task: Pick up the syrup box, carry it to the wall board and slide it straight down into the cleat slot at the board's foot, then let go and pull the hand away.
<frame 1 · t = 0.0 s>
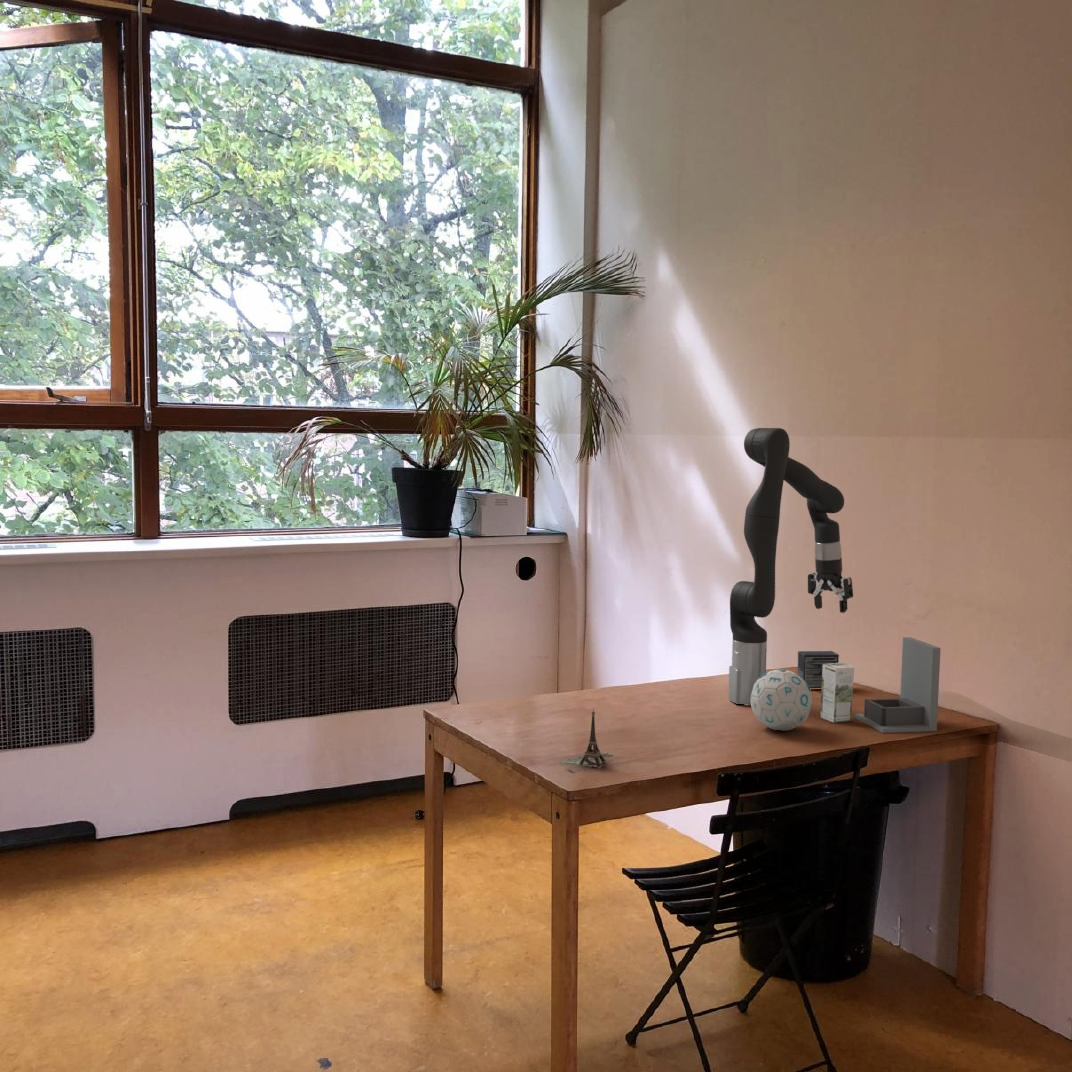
hand: (831, 610, 320), 22 cm above the table, tool pointing down, fingers open, 8 cm apart
small box: (817, 688, 319), on the table
syrup box: (835, 720, 282), on the table
eiffel tower figurine: (591, 766, 242), on the table
wall holder: (890, 724, 278), on the table
puzzle ball: (780, 730, 272), on the table
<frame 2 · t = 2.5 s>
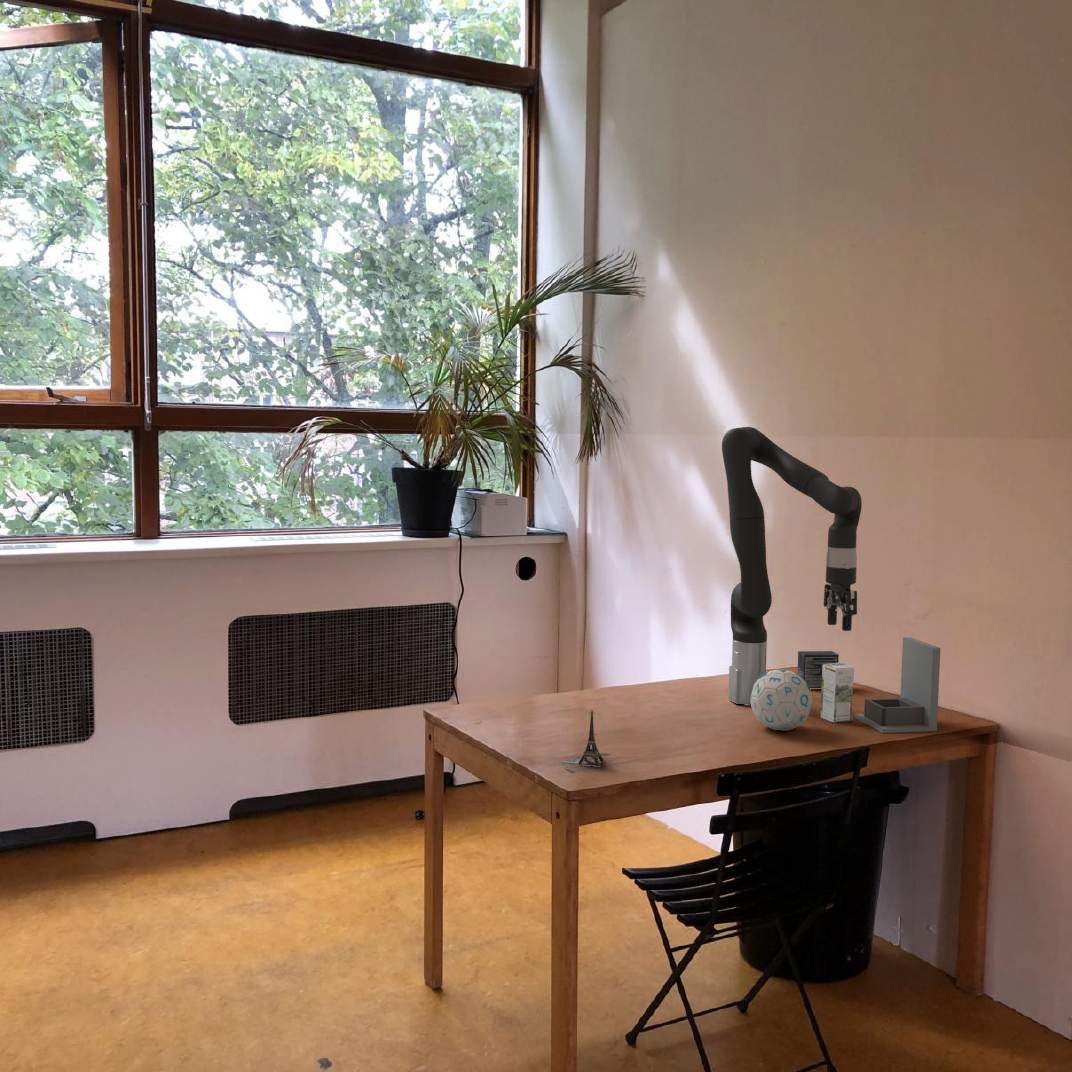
hand: (839, 627, 280), 24 cm above the table, tool pointing down, fingers open, 8 cm apart
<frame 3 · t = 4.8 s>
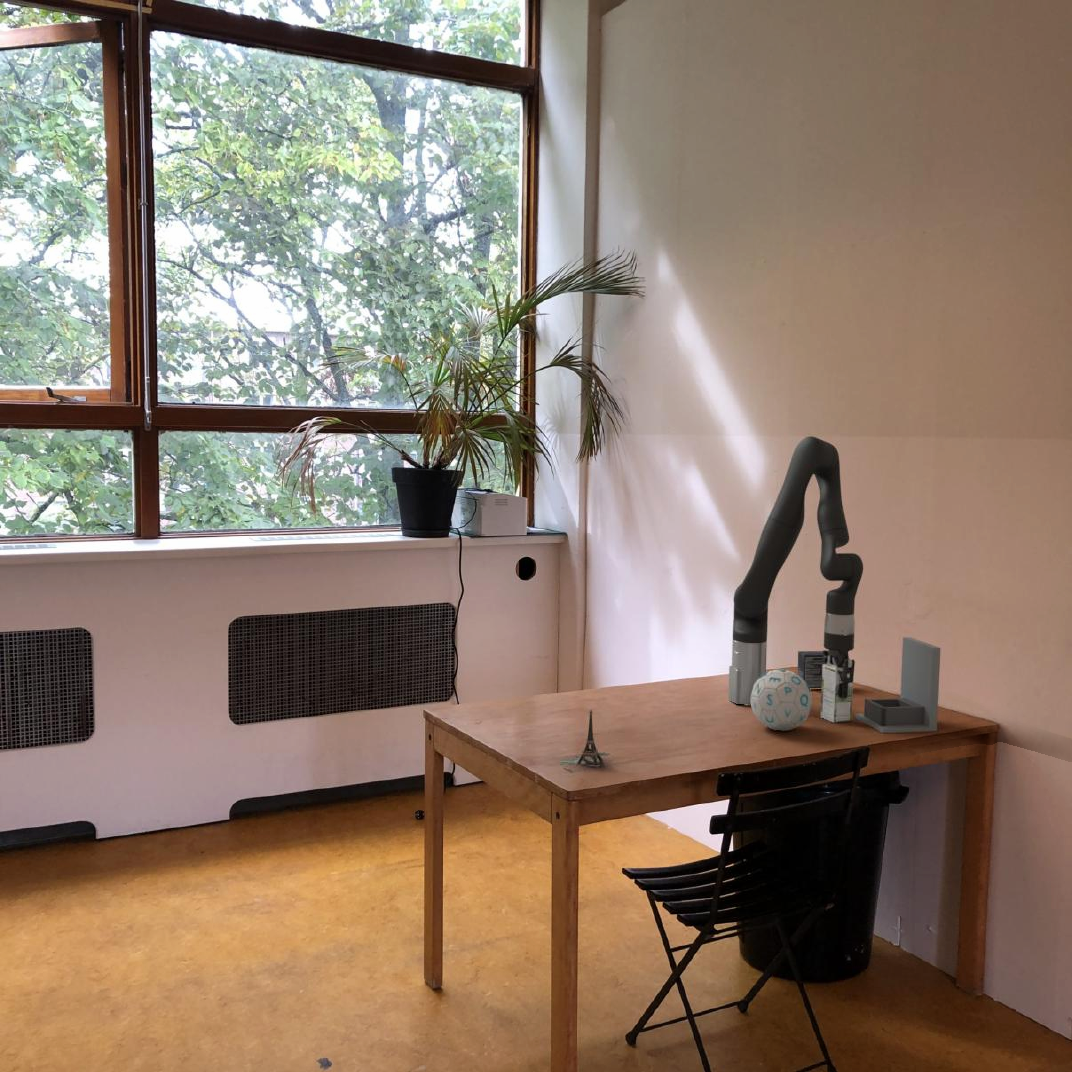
hand: (836, 694, 282), 7 cm above the table, tool pointing down, fingers closed on syrup box, 6 cm apart
syrup box: (835, 720, 282), on the table, touching gripper
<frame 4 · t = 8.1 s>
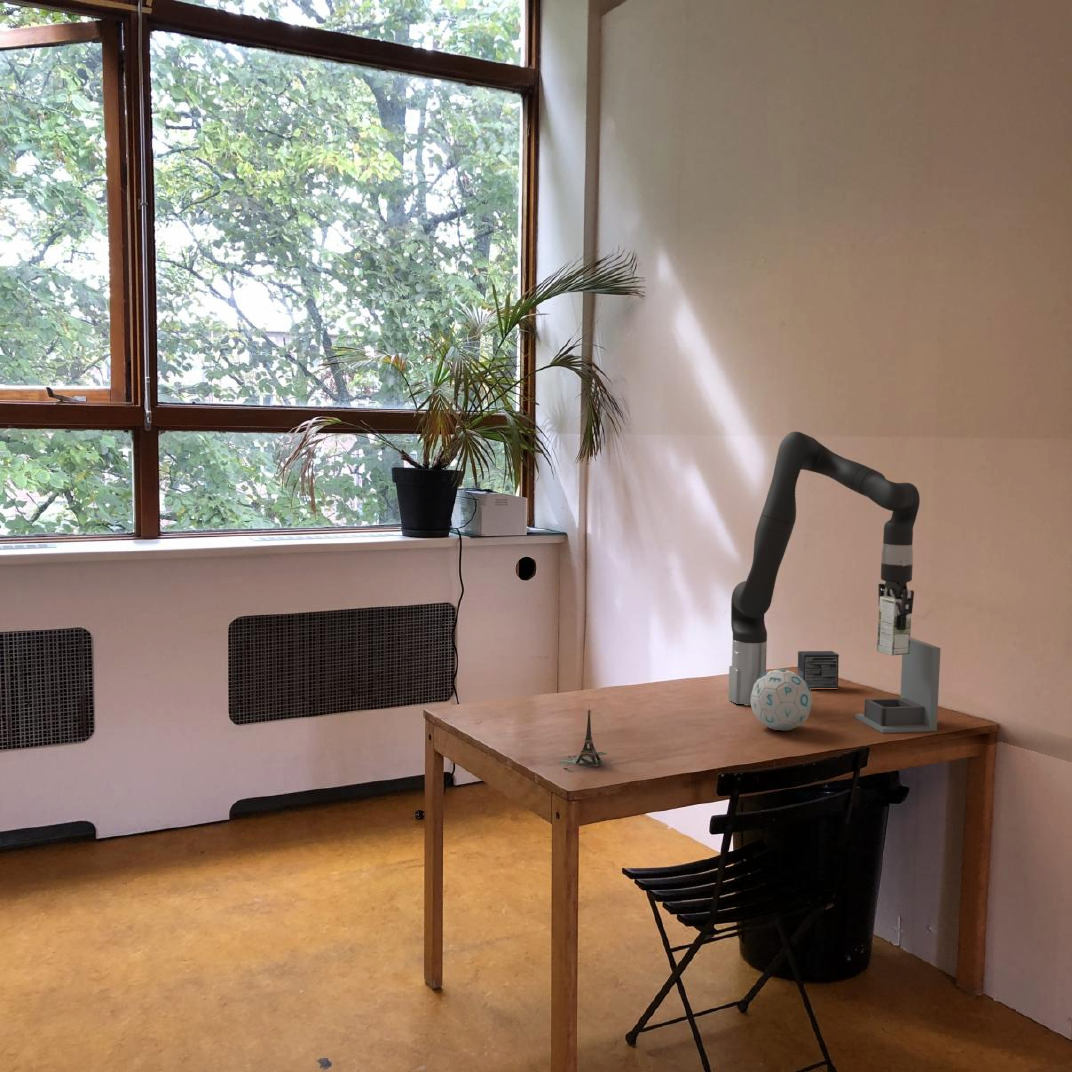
hand: (894, 627, 276), 25 cm above the table, tool pointing down, fingers closed on syrup box, 6 cm apart
syrup box: (893, 654, 277), point 18 cm above the table, touching gripper
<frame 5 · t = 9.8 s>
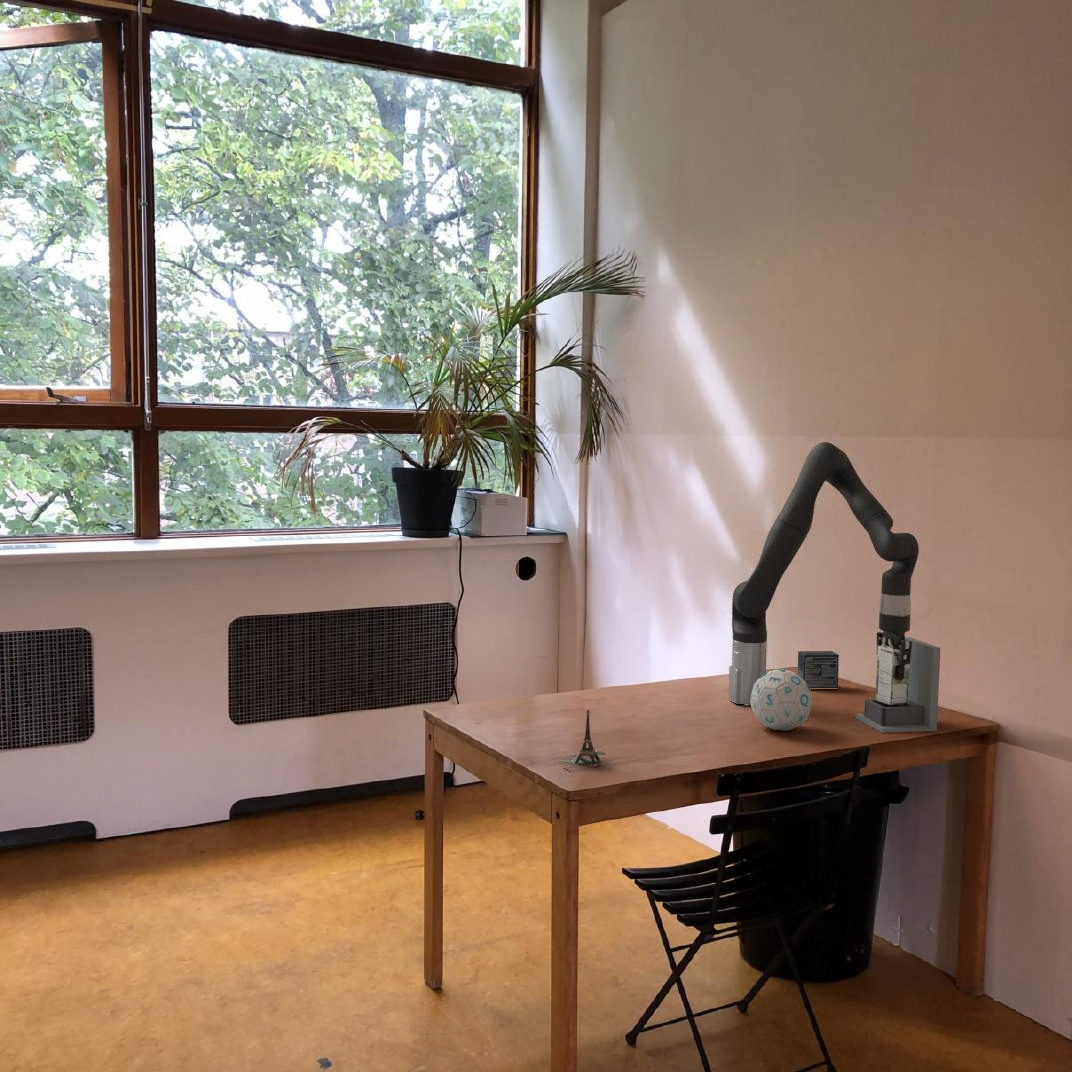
hand: (892, 676, 277), 12 cm above the table, tool pointing down, fingers closed on syrup box, 6 cm apart
syrup box: (891, 703, 278), point 5 cm above the table, touching gripper
when the fingers open (9 cm above the table, at t = 11.4 s): syrup box drops 1 cm, resting on wall holder.
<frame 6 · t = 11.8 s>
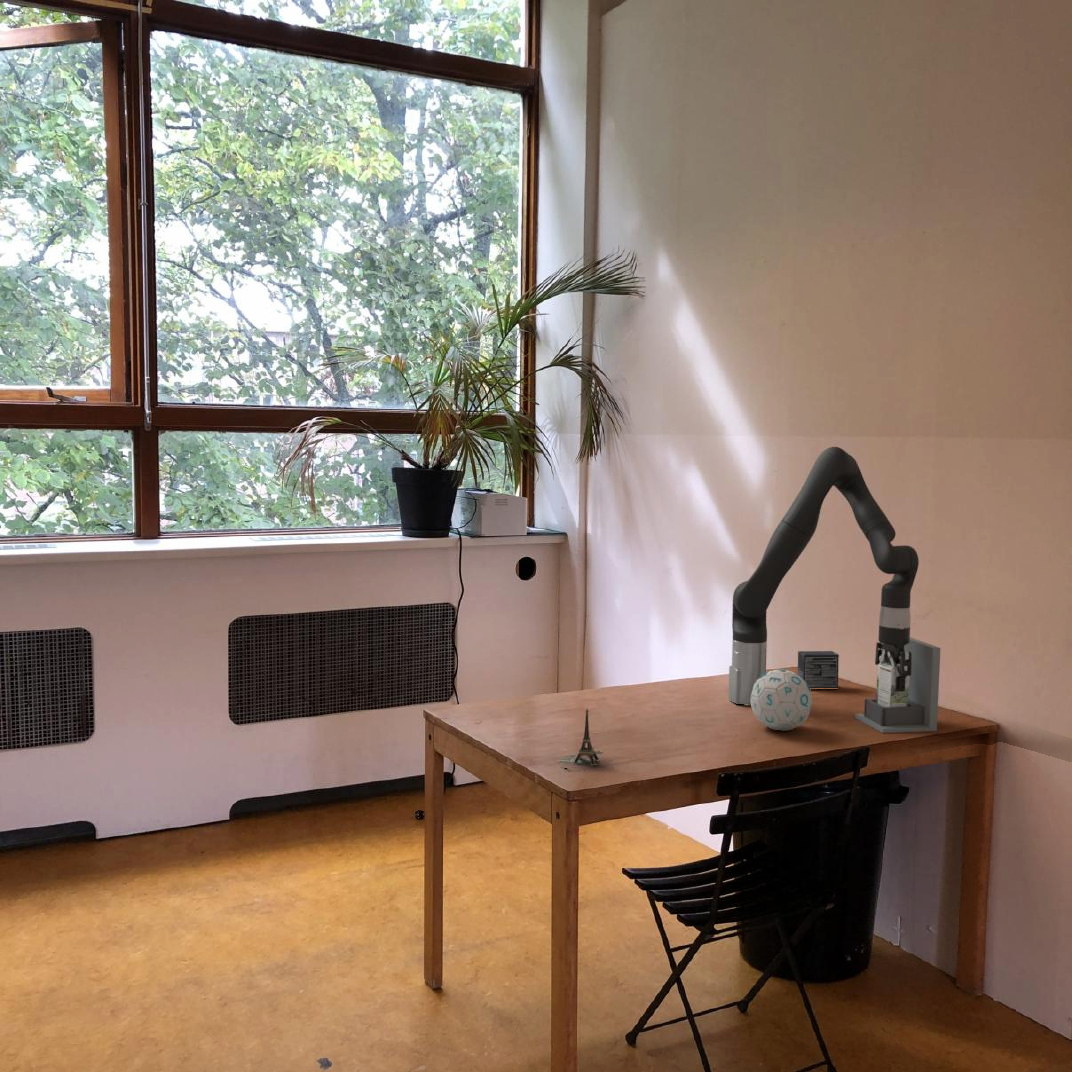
hand: (891, 687, 277), 10 cm above the table, tool pointing down, fingers open, 8 cm apart
syrup box: (891, 721, 278), point 1 cm above the table, touching wall holder
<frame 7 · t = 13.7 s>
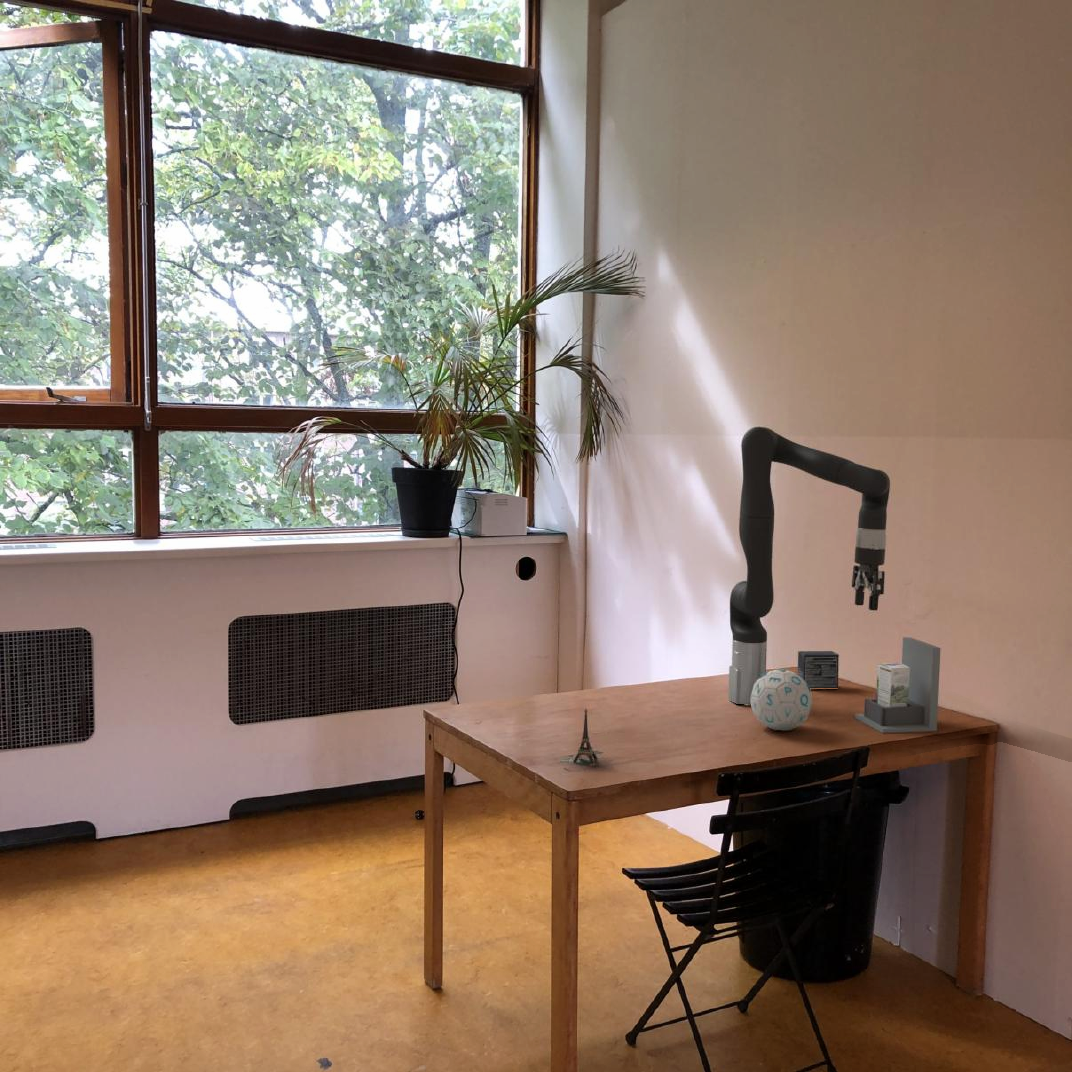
hand: (865, 607, 286), 28 cm above the table, tool pointing down, fingers open, 8 cm apart
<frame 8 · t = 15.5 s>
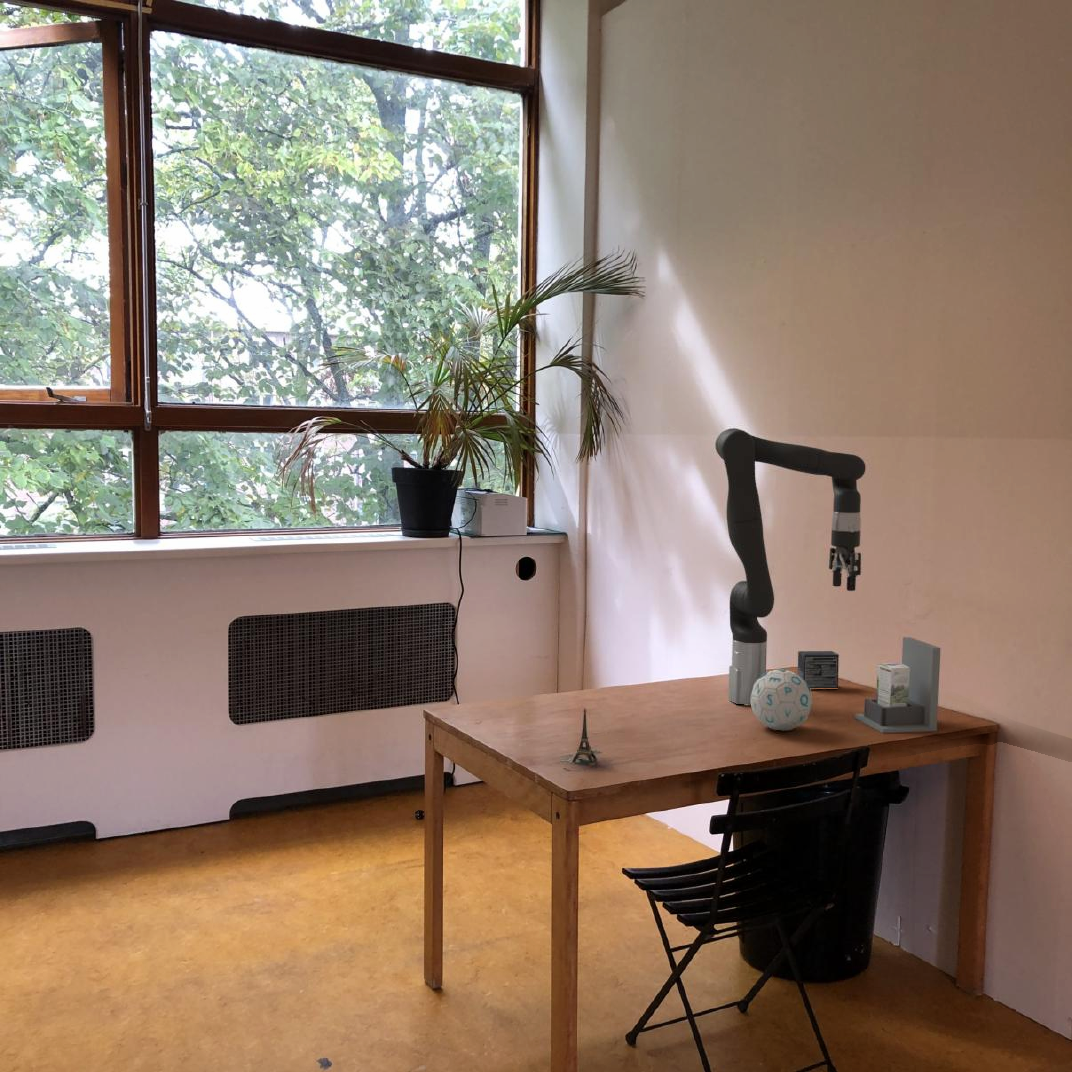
hand: (843, 588, 295), 32 cm above the table, tool pointing down, fingers open, 8 cm apart
at the end: syrup box 0.2 cm off-centre on the wall holder, point 0.8 cm above the wall holder's base; syrup box tilted 0°; the gripper is holding nothing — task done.
